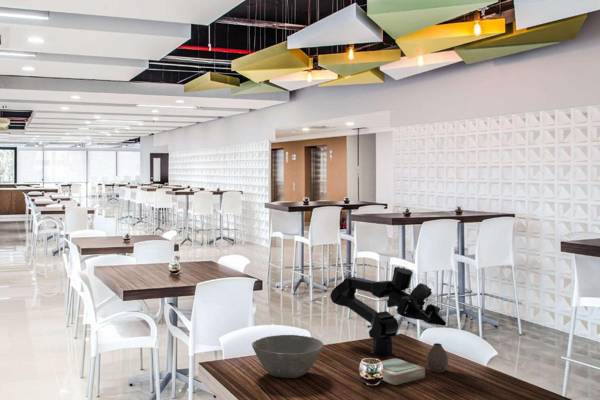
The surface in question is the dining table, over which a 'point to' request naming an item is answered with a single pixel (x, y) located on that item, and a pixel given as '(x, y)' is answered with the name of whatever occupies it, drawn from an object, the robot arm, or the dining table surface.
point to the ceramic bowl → (287, 354)
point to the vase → (437, 358)
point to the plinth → (401, 371)
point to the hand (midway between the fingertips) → (437, 322)
